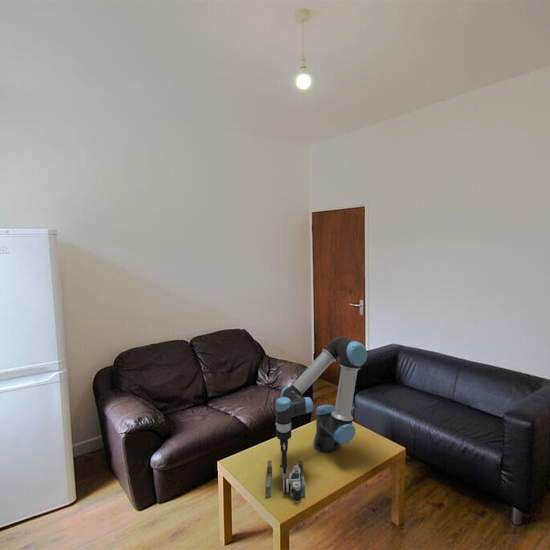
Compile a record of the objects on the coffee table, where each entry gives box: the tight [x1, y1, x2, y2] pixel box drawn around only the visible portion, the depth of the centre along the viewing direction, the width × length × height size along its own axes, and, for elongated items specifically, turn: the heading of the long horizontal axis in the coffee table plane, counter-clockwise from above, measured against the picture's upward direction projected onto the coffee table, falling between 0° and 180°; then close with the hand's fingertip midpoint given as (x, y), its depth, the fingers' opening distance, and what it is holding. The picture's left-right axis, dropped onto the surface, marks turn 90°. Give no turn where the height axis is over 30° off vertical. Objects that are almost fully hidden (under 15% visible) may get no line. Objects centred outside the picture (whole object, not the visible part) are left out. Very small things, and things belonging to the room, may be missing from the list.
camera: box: [282, 464, 302, 503], centre depth 171 cm, size 16×9×10 cm, turn 179°
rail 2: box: [298, 459, 306, 497], centre depth 177 cm, size 2×20×5 cm, turn 179°
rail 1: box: [265, 459, 273, 498], centre depth 177 cm, size 2×20×5 cm, turn 179°
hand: (284, 469), depth 182 cm, fingers open, 13 cm apart
